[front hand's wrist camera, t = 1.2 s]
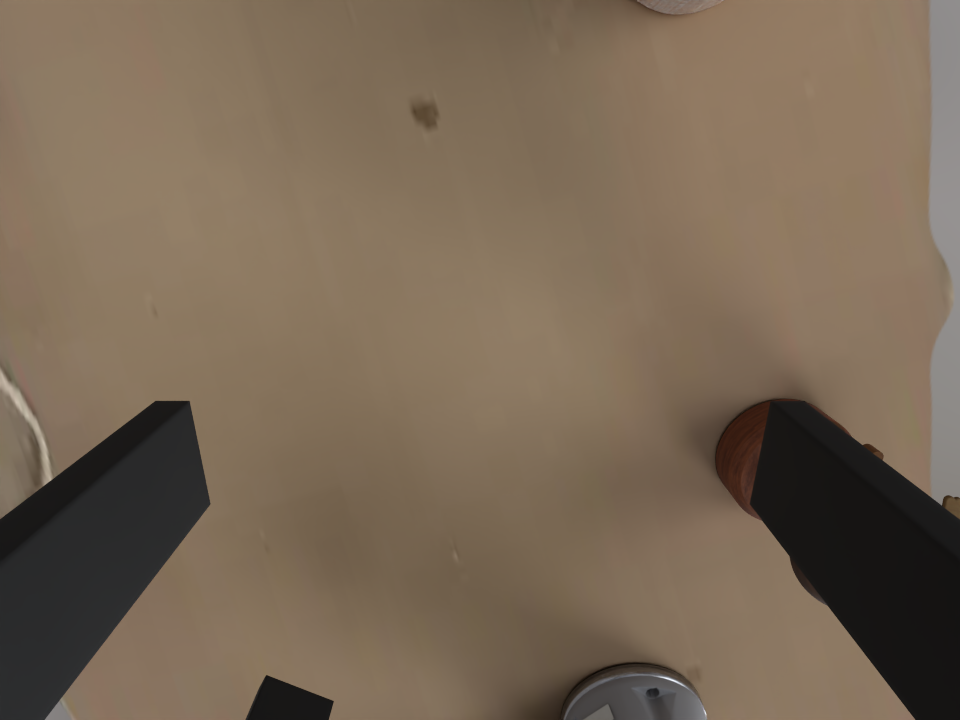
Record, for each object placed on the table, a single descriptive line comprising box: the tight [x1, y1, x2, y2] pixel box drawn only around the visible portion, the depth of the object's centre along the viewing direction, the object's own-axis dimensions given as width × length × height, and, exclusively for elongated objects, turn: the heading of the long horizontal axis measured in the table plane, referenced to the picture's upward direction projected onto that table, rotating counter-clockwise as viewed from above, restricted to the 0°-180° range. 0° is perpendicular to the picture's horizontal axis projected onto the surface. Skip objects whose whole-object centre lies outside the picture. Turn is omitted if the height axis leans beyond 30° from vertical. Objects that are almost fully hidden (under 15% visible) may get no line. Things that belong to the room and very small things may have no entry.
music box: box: [716, 399, 960, 606], centre depth 40 cm, size 15×11×20 cm
